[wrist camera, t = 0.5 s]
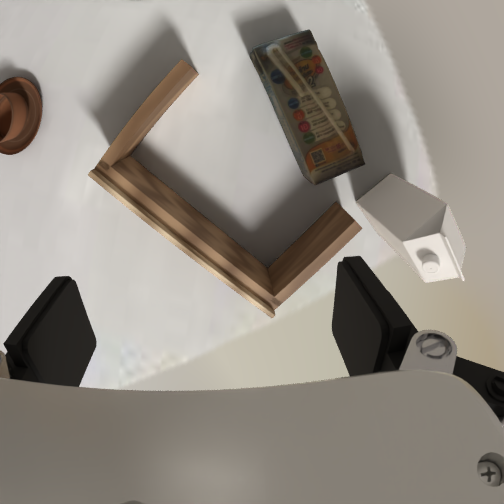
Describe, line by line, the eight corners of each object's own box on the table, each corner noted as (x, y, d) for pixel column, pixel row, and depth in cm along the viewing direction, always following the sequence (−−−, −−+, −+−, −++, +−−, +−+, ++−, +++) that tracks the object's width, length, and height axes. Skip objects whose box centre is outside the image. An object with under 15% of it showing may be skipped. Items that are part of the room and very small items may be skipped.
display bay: (113, 160, 41) (87, 174, 33) (190, 67, 37) (180, 57, 28) (265, 282, 51) (272, 318, 42) (342, 208, 46) (366, 232, 38)
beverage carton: (301, 35, 36) (313, 25, 30) (352, 158, 43) (370, 167, 38) (247, 55, 37) (250, 46, 31) (303, 179, 44) (314, 191, 39)
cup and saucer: (10, 167, 39) (-12, 176, 34) (-17, 110, 35) (-41, 114, 29) (59, 121, 38) (37, 125, 32) (29, 61, 33) (6, 59, 27)
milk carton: (390, 172, 44) (468, 215, 27) (410, 207, 47) (485, 261, 30) (354, 201, 46) (419, 258, 29) (377, 234, 48) (441, 301, 31)
